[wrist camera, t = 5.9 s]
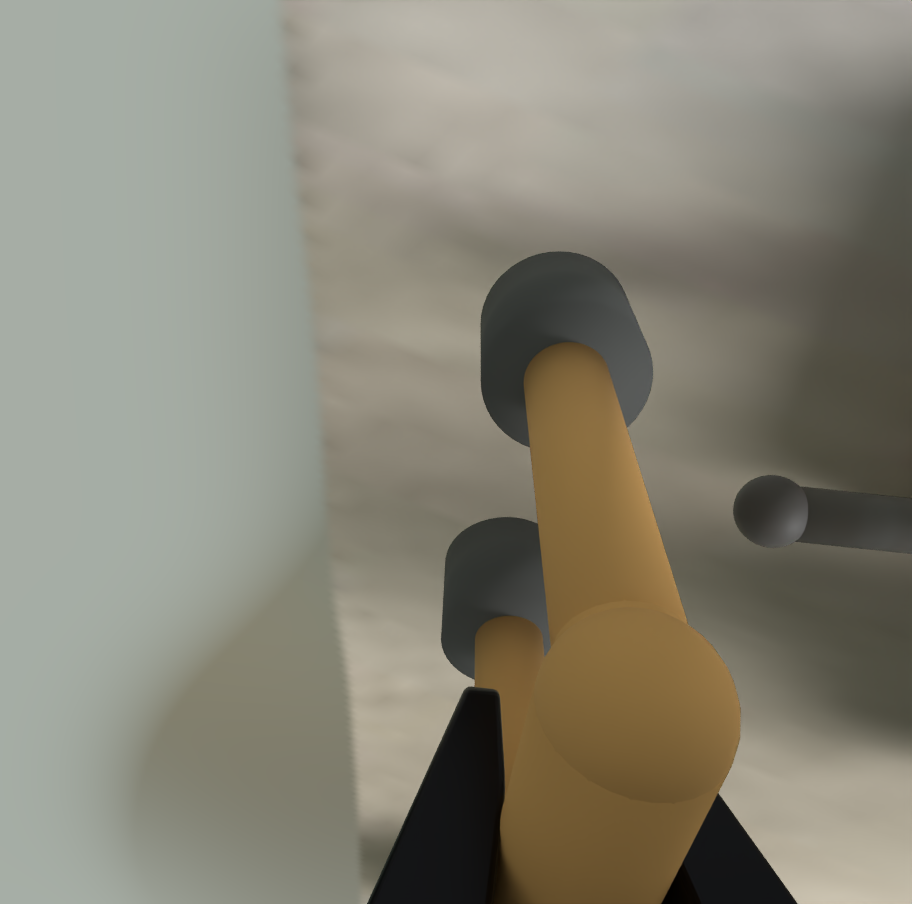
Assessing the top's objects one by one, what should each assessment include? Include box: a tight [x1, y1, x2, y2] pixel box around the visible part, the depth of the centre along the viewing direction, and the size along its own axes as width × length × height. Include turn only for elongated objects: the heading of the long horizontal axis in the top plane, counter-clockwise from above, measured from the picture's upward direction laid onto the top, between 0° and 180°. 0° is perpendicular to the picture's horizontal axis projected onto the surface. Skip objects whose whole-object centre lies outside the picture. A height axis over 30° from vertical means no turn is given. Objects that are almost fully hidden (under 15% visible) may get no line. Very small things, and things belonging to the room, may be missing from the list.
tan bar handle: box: [441, 252, 741, 904], centre depth 10 cm, size 8×2×8 cm, turn 173°
